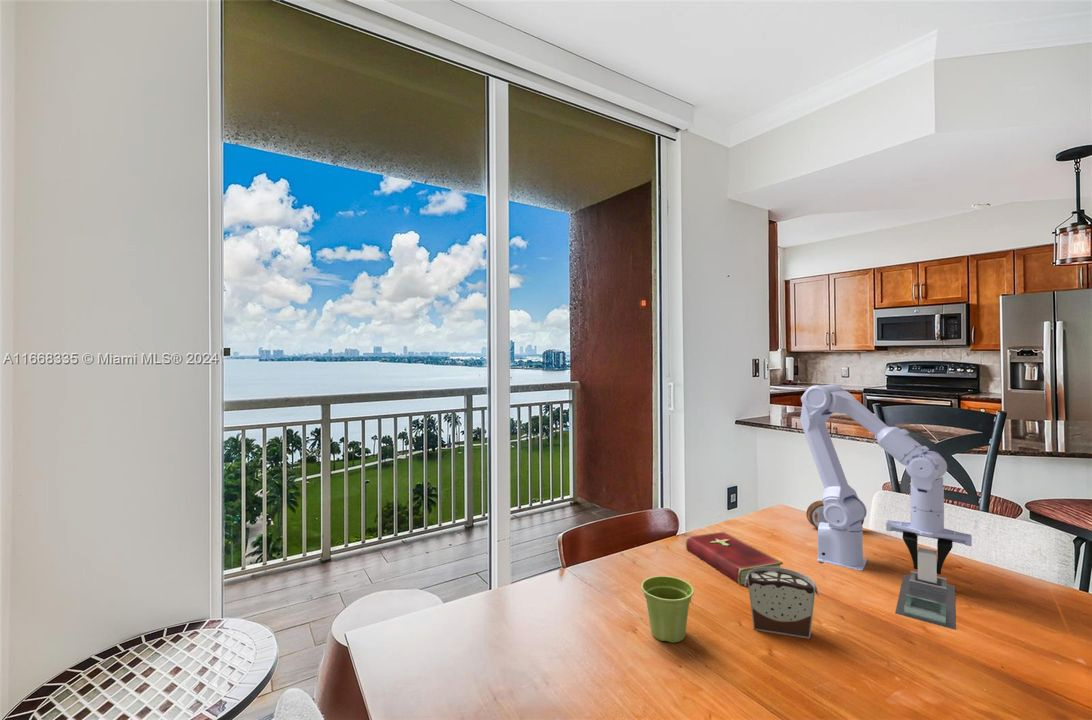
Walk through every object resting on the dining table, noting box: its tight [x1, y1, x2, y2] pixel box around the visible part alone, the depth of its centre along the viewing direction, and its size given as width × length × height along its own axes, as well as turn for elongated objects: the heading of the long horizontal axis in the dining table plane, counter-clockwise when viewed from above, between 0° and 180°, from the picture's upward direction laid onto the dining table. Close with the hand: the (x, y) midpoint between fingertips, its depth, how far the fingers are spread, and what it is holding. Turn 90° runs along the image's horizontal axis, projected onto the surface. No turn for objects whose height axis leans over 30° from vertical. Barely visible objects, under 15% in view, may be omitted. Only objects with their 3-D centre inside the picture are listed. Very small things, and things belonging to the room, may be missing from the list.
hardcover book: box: [685, 531, 784, 586], centre depth 118 cm, size 12×21×4 cm, turn 17°
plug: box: [917, 546, 938, 583], centre depth 104 cm, size 3×4×6 cm
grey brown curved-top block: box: [744, 567, 820, 639], centre depth 90 cm, size 12×6×10 cm, turn 71°
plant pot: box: [640, 575, 695, 644], centre depth 88 cm, size 9×9×9 cm
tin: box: [805, 500, 865, 530], centre depth 140 cm, size 15×3×8 cm, turn 82°
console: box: [894, 570, 957, 631], centre depth 99 cm, size 9×22×2 cm, turn 140°
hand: (927, 570), depth 104 cm, fingers closed on plug, 3 cm apart
